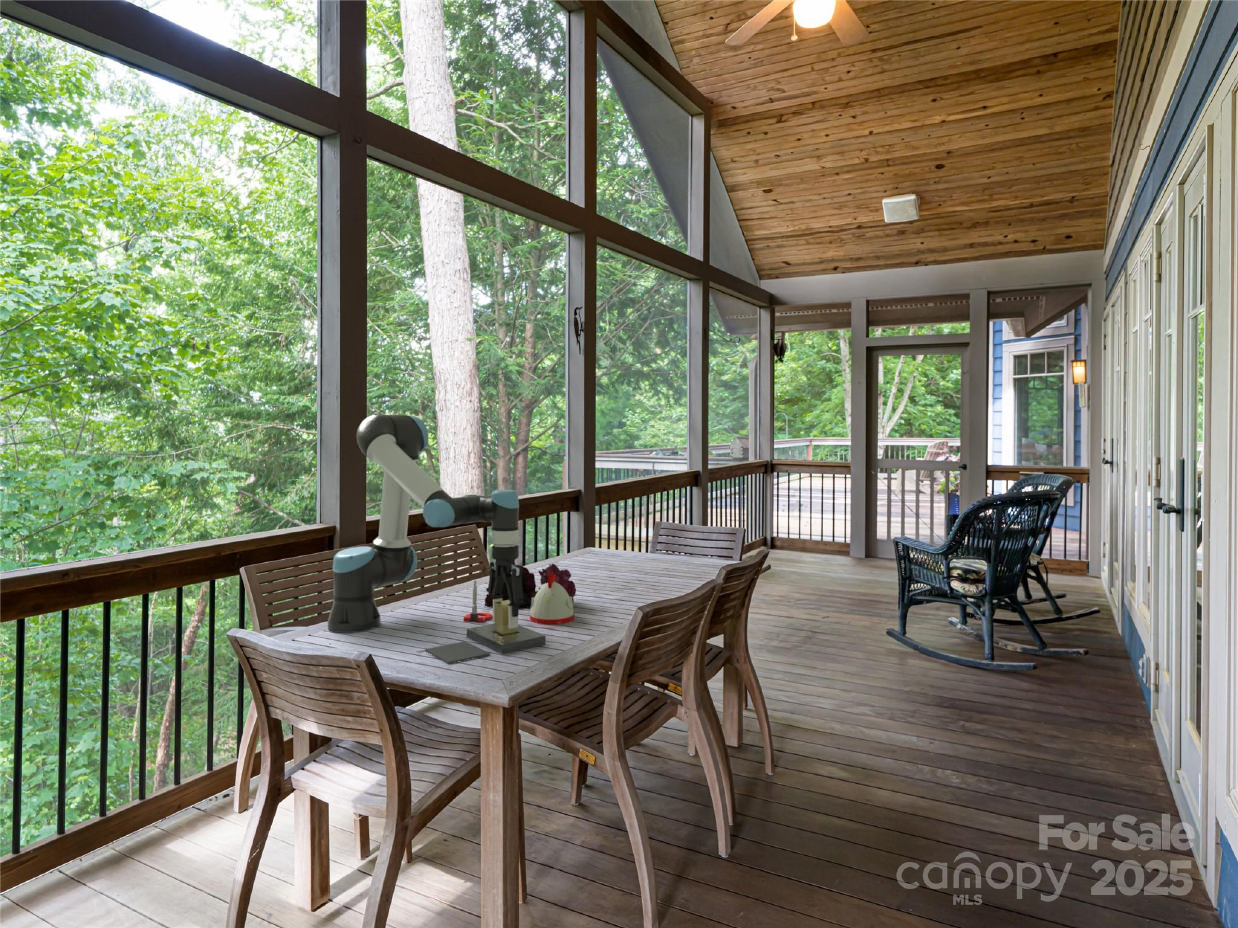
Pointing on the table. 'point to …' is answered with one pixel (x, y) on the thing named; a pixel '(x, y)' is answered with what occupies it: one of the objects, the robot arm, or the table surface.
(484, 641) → the socket plate
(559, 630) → the table surface
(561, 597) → the kitchen timer
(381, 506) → the robot arm
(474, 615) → the tow hook
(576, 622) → the table surface
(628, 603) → the table surface
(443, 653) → the rubber mat
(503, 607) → the brass plug
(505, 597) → the flower arrangement
